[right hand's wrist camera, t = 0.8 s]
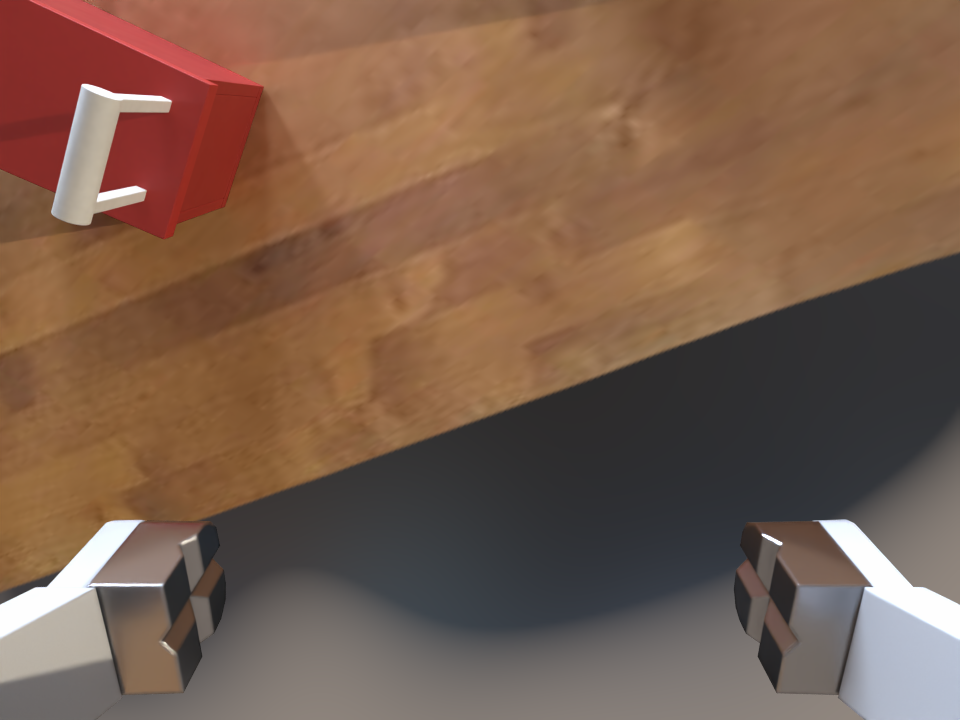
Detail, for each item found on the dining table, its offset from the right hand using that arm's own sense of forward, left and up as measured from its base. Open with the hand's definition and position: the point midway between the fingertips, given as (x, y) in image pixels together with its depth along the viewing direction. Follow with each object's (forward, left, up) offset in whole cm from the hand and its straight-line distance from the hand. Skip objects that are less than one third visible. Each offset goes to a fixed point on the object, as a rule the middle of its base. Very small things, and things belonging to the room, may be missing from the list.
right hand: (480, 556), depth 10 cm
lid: (-5, -24, -33) cm, 41 cm away
